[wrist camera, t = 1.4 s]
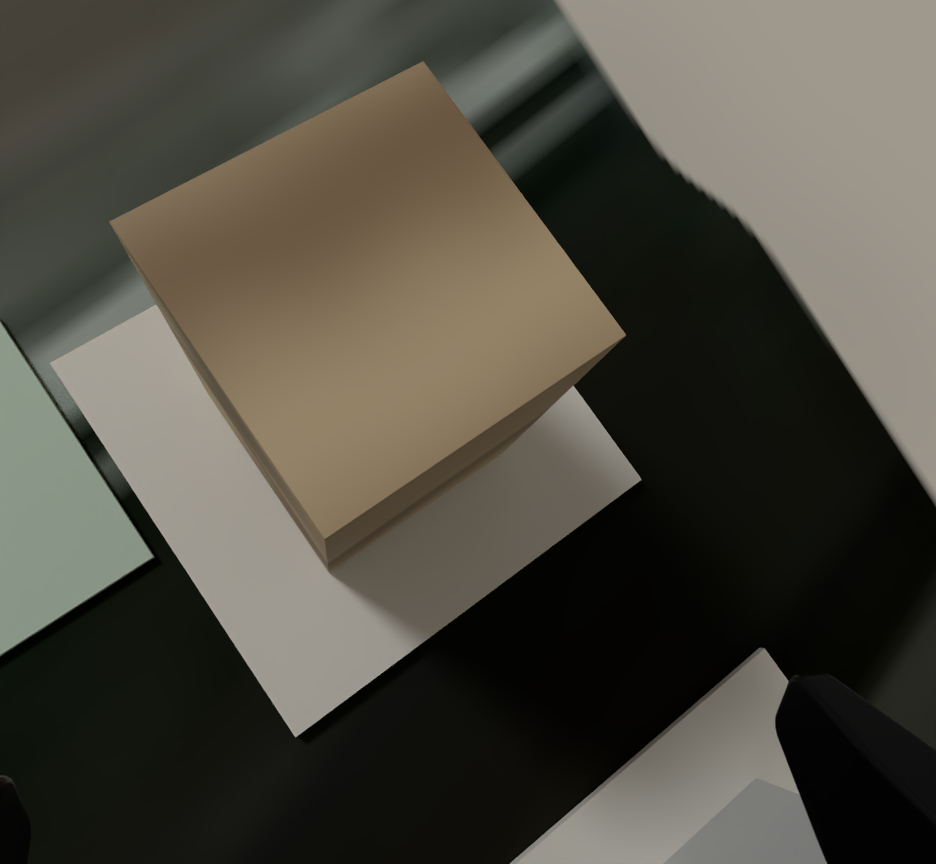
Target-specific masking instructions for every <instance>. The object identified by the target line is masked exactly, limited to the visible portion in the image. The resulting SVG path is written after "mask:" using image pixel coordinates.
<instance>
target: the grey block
mask: <svg viewBox="0 0 936 864" xmlns="http://www.w3.org/2000/svg"><path fill="white" fill-rule="evenodd" d="M663 864H827V862H826V860H825V858H824V856H823V853H822V851H821V849H820V846H819V844H818V841H817V839H816V837H815V834H814V831H813V829H812V826H811V824H810V821H809V818H808V816H807V813H806V810H805V808H804V805H803V803H802V800H801V797H800V795H799V794H797V793H794V792H791V791H789V790H786V789H784V788H781V787H778V786H776V785H773V784H771V783H768V782H766V781H763V780H760V779H758V778H755V779H754V780H753V781H752V782H751V783H750V784H749V785H748V786H747V787H746V788H745V789H743V790H742V791H741V792H740V793H739V794H738V795H737V796H736V797H735V798H734V799H733V800H732V801H730V802H729V803H728V804H727V805H726V806H725V807H724V808H723V809H722V810H721V811H720V812H719V813H717V814H716V815H715V816H714V817H713V818H712V819H711V820H710V821H709V822H708V823H707V824H706V825H704V826H703V827H702V828H701V829H700V830H699V831H698V832H697V833H696V834H695V835H694V836H693V837H691V838H690V839H689V840H688V841H687V842H686V843H685V844H684V845H683V846H682V847H681V848H680V849H678V850H677V851H676V852H675V853H674V854H673V855H672V856H671V857H670V858H669V859H668V860H667V861H665V862H664V863H663Z"/></svg>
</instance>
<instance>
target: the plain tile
mask: <svg viewBox="0 0 936 864" xmlns="http://www.w3.org/2000/svg"><path fill="white" fill-rule="evenodd" d="M788 682H789V681H788V680H787V679H786V677H785V676H784V674H783V673H782V672H781V670H780V669H779V668H778V666H777V665H776V663H775V662H774V661H773V659H772V658H771V657H770V655H769V654H768V652H767V651H766V650H765V648H759V649H758V650H756V651H755V652H754V653H753V654H752V655H751V656H749V657H748V658H747V659H746V660H745V661H744V662H742V663H741V664H740V665H739V666H738V667H737V668H736V669H734V670H733V671H732V672H731V673H730V674H729V675H727V676H726V677H725V678H724V679H723V680H722V681H720V682H719V683H718V684H717V685H716V686H715V687H714V688H712V689H711V690H710V691H709V692H708V693H707V694H705V695H704V696H703V697H702V698H701V699H700V700H698V701H697V702H696V703H695V704H694V705H693V706H692V707H690V708H689V709H688V710H687V711H686V712H685V713H683V714H682V715H681V716H680V717H679V718H678V719H677V720H675V721H674V722H673V723H672V724H671V725H670V726H668V727H667V728H666V729H665V730H664V731H663V732H661V733H660V734H659V735H658V736H657V737H656V738H655V739H653V740H652V741H651V742H650V743H649V744H648V745H646V746H645V747H644V748H643V749H642V750H641V751H639V752H638V753H637V754H636V755H635V756H634V757H633V758H631V759H630V760H629V761H628V762H627V763H626V764H624V765H623V766H622V767H621V768H620V769H619V770H617V771H616V772H615V773H614V774H613V775H612V776H611V777H609V778H608V779H607V780H606V781H605V782H604V783H602V784H601V785H600V786H599V787H598V788H597V789H596V790H594V791H593V792H592V793H591V794H590V795H589V796H587V797H586V798H585V799H584V800H583V801H582V802H580V803H579V804H578V805H577V806H576V807H575V808H574V809H572V810H571V811H570V812H569V813H568V814H567V815H565V816H564V817H563V818H562V819H561V820H560V821H558V822H557V823H556V824H555V825H554V826H553V827H552V828H550V829H549V830H548V831H547V832H546V833H545V834H543V835H542V836H541V837H540V838H539V839H538V840H536V841H535V842H534V843H533V844H532V845H531V846H530V847H528V848H527V849H526V850H525V851H524V852H523V853H521V854H520V855H519V856H518V857H517V858H516V859H515V860H513V861H512V862H511V863H510V864H663V863H664V862H665V861H667V860H668V859H669V858H670V857H671V856H672V855H673V854H674V853H675V852H676V851H677V850H678V849H680V848H681V847H682V846H683V845H684V844H685V843H686V842H687V841H688V840H689V839H690V838H691V837H693V836H694V835H695V834H696V833H697V832H698V831H699V830H700V829H701V828H702V827H703V826H704V825H706V824H707V823H708V822H709V821H710V820H711V819H712V818H713V817H714V816H715V815H716V814H717V813H719V812H720V811H721V810H722V809H723V808H724V807H725V806H726V805H727V804H728V803H729V802H730V801H732V800H733V799H734V798H735V797H736V796H737V795H738V794H739V793H740V792H741V791H742V790H743V789H745V788H746V787H747V786H748V785H749V784H750V783H751V782H752V781H753V780H754V779H755V778H758V779H760V780H763V781H766V782H768V783H771V784H773V785H776V786H778V787H781V788H784V789H786V790H789V791H791V792H794V793H797V794H799V792H798V789H797V787H796V784H795V782H794V779H793V776H792V774H791V771H790V768H789V766H788V763H787V761H786V758H785V755H784V753H783V750H782V747H781V745H780V742H779V740H778V737H777V733H776V729H775V716H776V713H777V710H778V708H779V705H780V703H781V700H782V698H783V695H784V692H785V690H786V687H787V685H788Z"/></svg>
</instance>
